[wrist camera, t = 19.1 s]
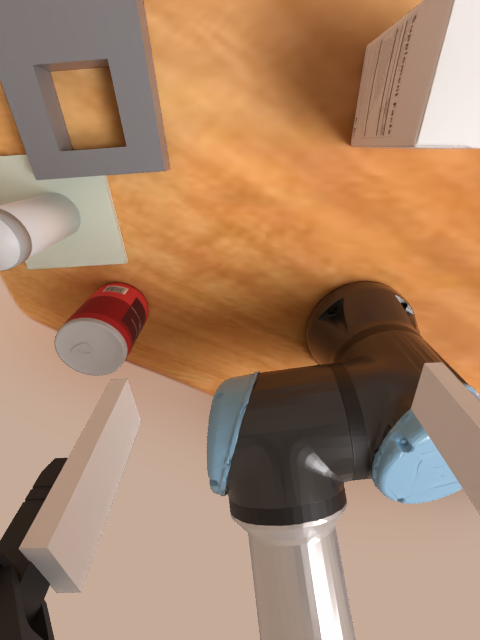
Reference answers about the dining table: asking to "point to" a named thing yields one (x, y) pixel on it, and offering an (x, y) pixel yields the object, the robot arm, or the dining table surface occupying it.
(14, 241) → the cartridge
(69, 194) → the mat
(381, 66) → the supplement box
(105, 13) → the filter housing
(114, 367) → the canned food
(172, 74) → the dining table surface
